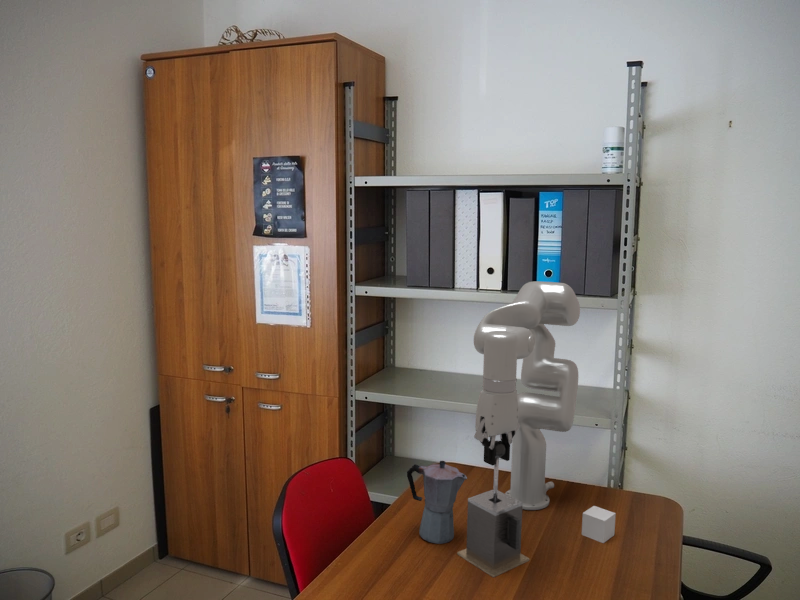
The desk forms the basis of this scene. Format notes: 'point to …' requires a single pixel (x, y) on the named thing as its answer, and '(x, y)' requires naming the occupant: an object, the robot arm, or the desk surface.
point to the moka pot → (437, 500)
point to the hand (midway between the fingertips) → (496, 460)
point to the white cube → (598, 524)
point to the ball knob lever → (499, 453)
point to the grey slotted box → (494, 533)
